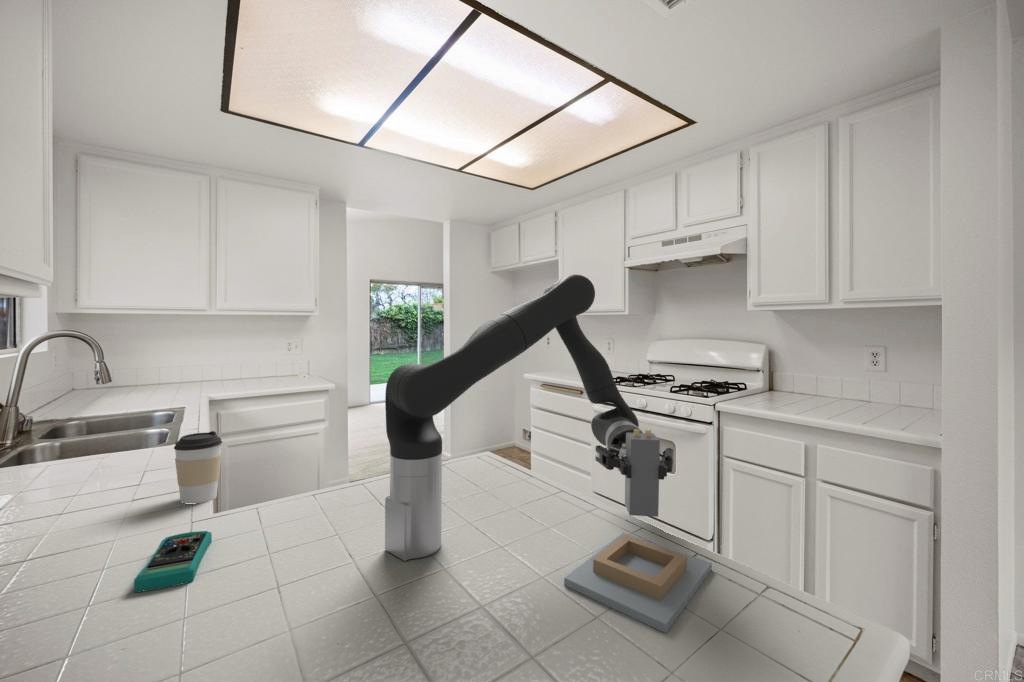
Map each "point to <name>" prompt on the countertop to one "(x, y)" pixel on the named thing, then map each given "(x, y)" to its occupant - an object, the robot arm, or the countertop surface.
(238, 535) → the countertop surface
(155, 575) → the digital multimeter
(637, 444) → the connector
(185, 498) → the coffee cup
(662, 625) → the holder
